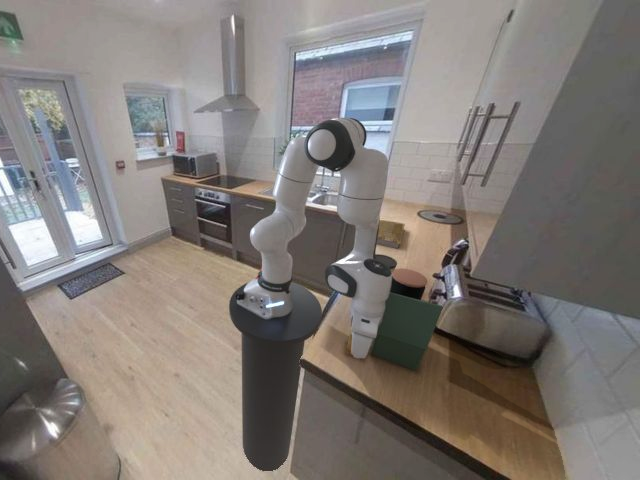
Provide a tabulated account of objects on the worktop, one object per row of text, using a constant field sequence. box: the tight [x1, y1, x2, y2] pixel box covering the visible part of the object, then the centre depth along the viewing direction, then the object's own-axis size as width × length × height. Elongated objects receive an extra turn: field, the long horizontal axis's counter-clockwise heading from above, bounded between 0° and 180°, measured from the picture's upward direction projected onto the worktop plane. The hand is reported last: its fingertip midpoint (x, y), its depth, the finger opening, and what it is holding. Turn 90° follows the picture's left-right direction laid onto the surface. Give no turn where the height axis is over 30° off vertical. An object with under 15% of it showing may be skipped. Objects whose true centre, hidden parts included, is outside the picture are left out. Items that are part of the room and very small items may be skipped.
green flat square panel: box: [377, 292, 444, 351], centre depth 72 cm, size 14×13×1 cm
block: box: [345, 333, 362, 360], centre depth 81 cm, size 4×4×4 cm
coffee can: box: [375, 253, 398, 273], centre depth 110 cm, size 10×10×14 cm
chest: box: [369, 334, 426, 372], centre depth 82 cm, size 14×13×9 cm
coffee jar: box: [385, 268, 428, 303], centre depth 93 cm, size 11×11×18 cm
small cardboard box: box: [377, 219, 406, 249], centre depth 160 cm, size 35×14×6 cm, turn 146°
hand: (358, 345), depth 81 cm, fingers open, 8 cm apart
